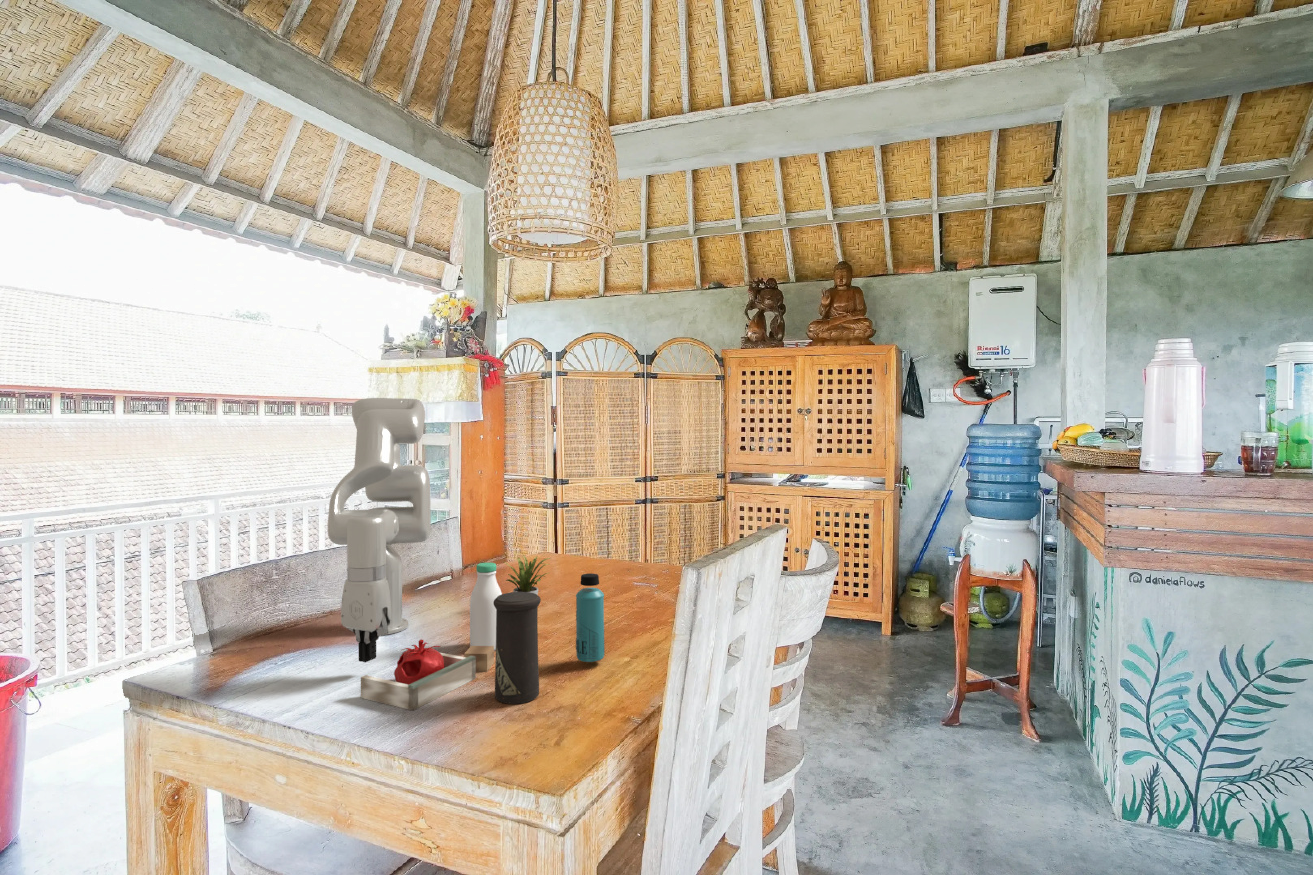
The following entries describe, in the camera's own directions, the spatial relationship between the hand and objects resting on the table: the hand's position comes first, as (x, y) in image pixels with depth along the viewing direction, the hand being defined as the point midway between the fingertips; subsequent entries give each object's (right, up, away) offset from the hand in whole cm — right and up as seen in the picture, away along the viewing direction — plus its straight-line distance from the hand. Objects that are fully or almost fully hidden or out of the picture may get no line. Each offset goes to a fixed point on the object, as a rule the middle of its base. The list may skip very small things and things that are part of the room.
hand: (367, 659), depth 138 cm
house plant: (+25, -3, +49) cm, 55 cm away
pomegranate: (+13, -4, -5) cm, 14 cm away
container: (+34, -4, -10) cm, 36 cm away
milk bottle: (+21, -3, +18) cm, 27 cm away
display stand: (+14, -4, -6) cm, 16 cm away
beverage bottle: (+46, -4, +7) cm, 47 cm away
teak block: (+22, -4, +5) cm, 23 cm away
